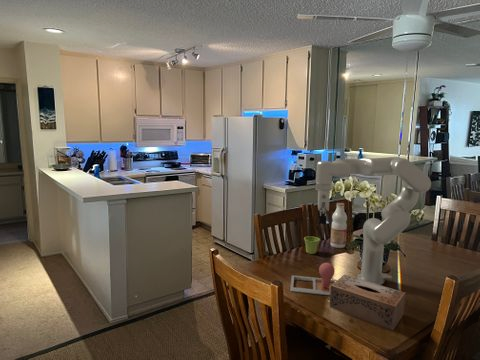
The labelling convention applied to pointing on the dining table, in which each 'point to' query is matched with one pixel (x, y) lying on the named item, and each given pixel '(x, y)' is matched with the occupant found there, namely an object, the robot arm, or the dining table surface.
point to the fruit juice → (339, 227)
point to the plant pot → (311, 244)
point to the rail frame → (317, 285)
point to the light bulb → (326, 273)
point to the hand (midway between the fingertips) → (321, 221)
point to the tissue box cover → (368, 301)
